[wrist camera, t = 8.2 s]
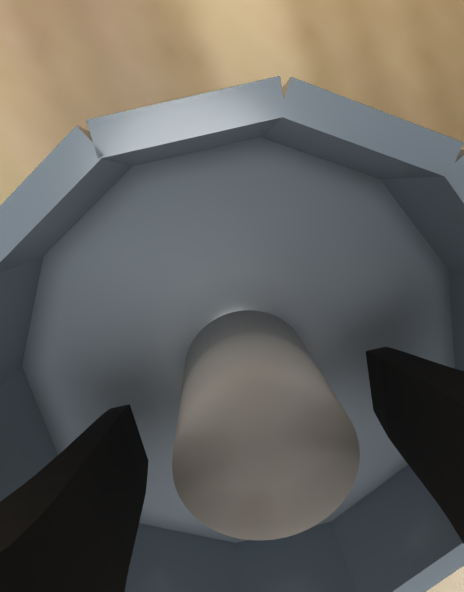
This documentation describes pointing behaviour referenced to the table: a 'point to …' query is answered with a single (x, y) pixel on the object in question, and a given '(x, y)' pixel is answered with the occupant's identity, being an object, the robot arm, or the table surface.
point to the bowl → (236, 308)
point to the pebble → (260, 431)
